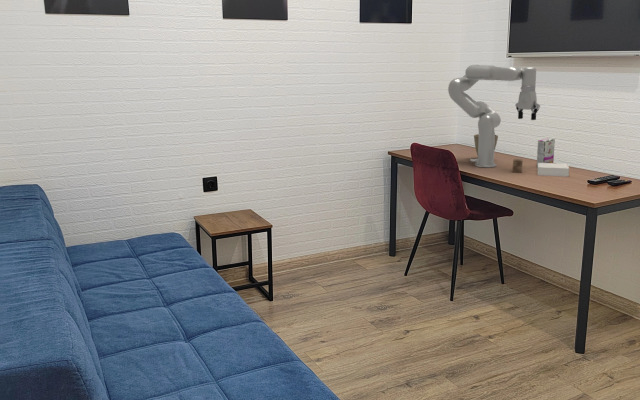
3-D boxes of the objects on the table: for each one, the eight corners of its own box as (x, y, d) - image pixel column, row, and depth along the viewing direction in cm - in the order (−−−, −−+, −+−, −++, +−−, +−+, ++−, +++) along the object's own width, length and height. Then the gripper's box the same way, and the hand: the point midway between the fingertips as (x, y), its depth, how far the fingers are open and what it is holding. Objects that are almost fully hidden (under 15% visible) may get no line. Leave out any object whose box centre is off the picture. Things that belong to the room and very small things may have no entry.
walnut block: (512, 172, 337) (513, 160, 335) (512, 171, 341) (513, 159, 339) (521, 173, 335) (522, 161, 333) (521, 171, 339) (522, 159, 338)
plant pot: (468, 160, 376) (469, 136, 373) (479, 157, 387) (480, 133, 383) (490, 163, 367) (491, 137, 363) (500, 159, 377) (502, 135, 374)
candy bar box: (545, 165, 356) (547, 138, 353) (553, 166, 353) (555, 139, 349) (535, 167, 350) (537, 140, 346) (543, 168, 346) (545, 141, 342)
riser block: (537, 175, 328) (538, 167, 327) (537, 171, 341) (537, 162, 339) (568, 177, 323) (569, 168, 321) (566, 172, 336) (567, 163, 334)
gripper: (512, 89, 339) (510, 118, 343) (535, 90, 324) (533, 120, 328) (521, 88, 343) (520, 117, 347) (545, 89, 328) (543, 119, 332)
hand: (526, 119), depth 337 cm, fingers open, 9 cm apart
